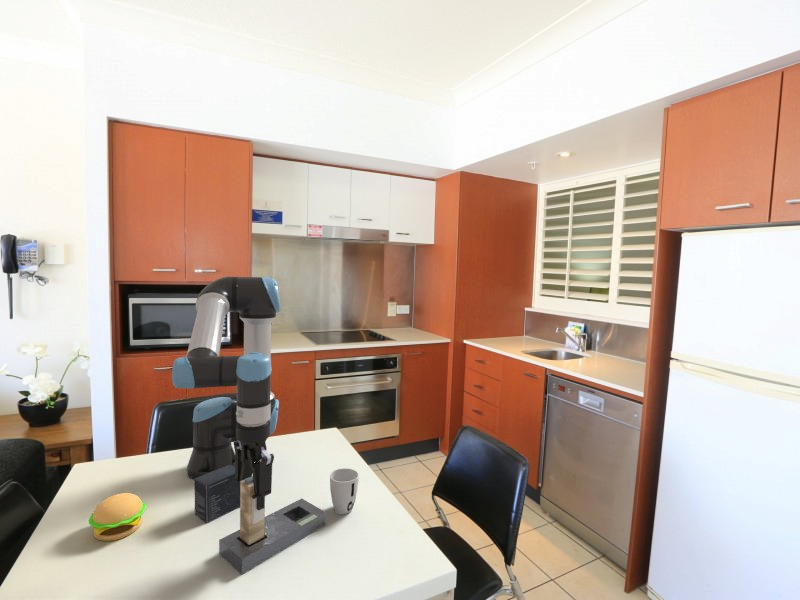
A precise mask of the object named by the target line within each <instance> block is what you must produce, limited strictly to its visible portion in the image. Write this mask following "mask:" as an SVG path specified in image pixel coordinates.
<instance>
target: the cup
mask: <svg viewBox="0 0 800 600" xmlns="http://www.w3.org/2000/svg"><path fill="white" fill-rule="evenodd" d="M359 475H360V474H359V472H358V471H357V470H356V469H353V468H347V467H345V468H344V467H343V468H337V469H335V470H333V471H331V472H330V474H329V488H330V496H331V501H332V502H331V503H332V505H333V509H334V512H335V513H336V514H339V515H347V514H349V513H351V512H352V511H353V508H354V505H355V503H356V499H357V493H358V486H359Z"/></svg>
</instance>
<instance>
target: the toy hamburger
mask: <svg viewBox="0 0 800 600" xmlns="http://www.w3.org/2000/svg"><path fill="white" fill-rule="evenodd" d="M146 509H147V505H146V503H145V502H143V501H142V500H141V498H140V497H139V496H138V495H136V494H135V493H130V492H122V493H116V494H114V495H111V496H109V497H108V496H107V497H106V498H105V499H103V501H101V502H100V503H99V504H97V506H96V508H95V509H94V510H93V513H90V515H89V518H88V524H89V526H91V527H93V536H94V537H95V539H97V540H99V541H101V542H112V541H116V540H117V541H118V540H120V539H123V538H126V537H128V536H130V535H131V534H133V533H135V532H136V531H137V530H138V529H139V528H140V526H141V525H142V523H143V522H142V521H143V518H142V515H143V514H144V512H145V510H146Z"/></svg>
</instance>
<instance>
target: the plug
mask: <svg viewBox="0 0 800 600" xmlns="http://www.w3.org/2000/svg"><path fill="white" fill-rule="evenodd" d="M253 495H255V494H254V484H253V475H252V476H251V477H249V478H246V479H245V480H242V481H240V507H239V530H240V538H241V539H242V540H243V541H244V542H246V543H247V544H248V545H249V546H250V545H251V546H252V544H254V543H257V542H256V541H258V540H260V539H262V538H263V537H264V527H265V517H266V515H265V513H266V511H265V509H266V508H265V507H266V506H265V507H264V519H263V520H261V521H259V522H257V523H255V524H253V523H252V496H253Z"/></svg>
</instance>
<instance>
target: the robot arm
mask: <svg viewBox="0 0 800 600" xmlns="http://www.w3.org/2000/svg"><path fill="white" fill-rule="evenodd" d="M278 285H279V284H278V282H277V280H276V279H275V278H272V277H263V276H223V277H220V278H217V279H216V280H213V281H212V282H210V283H208V284H207V285H206V286H205V287H204V288H203V289H201V291H200V292H199V294H198V296H197V298H196V300H195V301H196V302H195V310H196V312H197V313H196V317H195V320H194V321H195V322H194V325H193V328H192V333H191V336H190V341H189V344H188V348H187V352H186V355H185V356H182V357H181V356H180V357H177V358H175V360H174V361H173V364H172V371H171V379H172V380H171V381H172V384H173V386H174V387H175V389H176V388H177V389H192V390H194V389H204V388H205V389H206V388H218V387H219V388H220V387H236V402H235V401H233V400H232V398H231V397H229V396H228V397H227V396H226V397H225V396H220V397H219V396H218V397H213V398H210V399H206V400H204V401H202V402H200V403H198V404H197V405H196V406H195V407H194V409H193V412H192V413H193V418H192V431H193V433H192V451H191V454H190V456H189V457H190V458H189V460H188V462H187V465H186V474H187V477H188V478H190V479H192V480H194V479H195V478H197V477H200V476H202V475H205V474H207V473H210V472H212V471H215V470H217V469H220V468H222V467H225V466H227V465H230V466H233V467H235V480H236V482H239V485H240V481H242V480H245V479H246V478H249V477H251V476H253V484H254V494H255V495H253V496H252V523H253V524H255V523H257V522H259V521H261V520H263V519H264V507H266V505H265V504H266V497H267V496H268V495H271V493H272V484H273V483H272V482H273V481H272V480H273V462H274V460H275V455H274V453H269V452H268V451H267V443H266V442H267V440H268V439H269V438H270V436H271V435H272V434H273V433H274V432H275V431H276V428H277V423H278V417H279V416H278V415H279V408H280V407H279V406H280V402H279V399H277V398H275V394H274V392H272V391H271V389H272V386H271V385H272V358H271V357H272V353H271V352H272V350H271V349H272V348H271V347H272V345H271V344H272V322H273V321H274V320H276V317H277V313H280V312H281V303H280V302H281V301H280V293H279V287H278ZM231 312H232V313H239V315H238V317H239V319H240V320H241V321H242V322H243V323H244V324H243V327H244V328H243V355H225V356H224V355H220V353H221V352H220V351H221V345H222V339H223V338H222V337H223V331H224V325H225V318H226V315H228V313H231ZM235 438H236V440H235V441H233V445H232V439H235Z"/></svg>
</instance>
